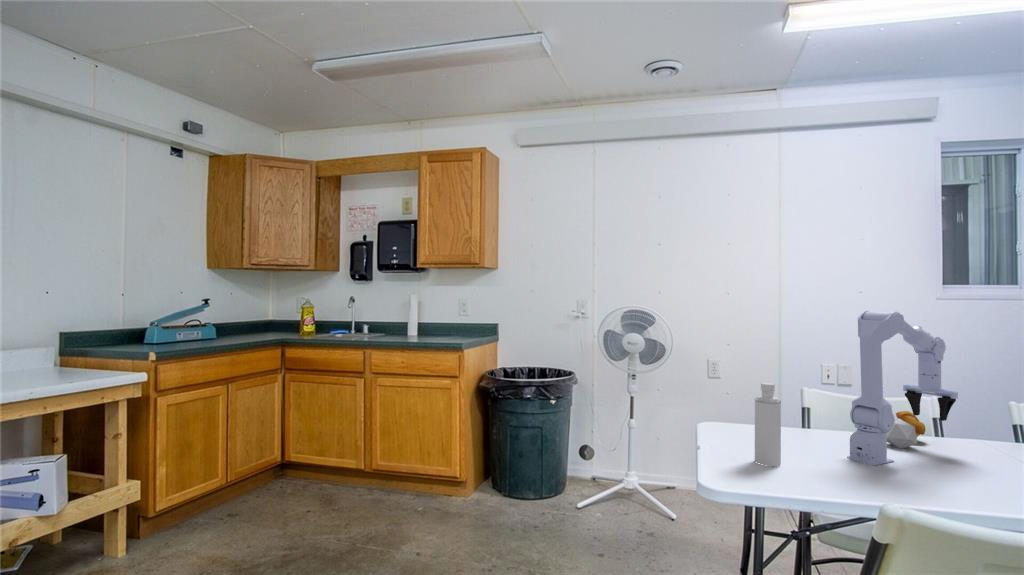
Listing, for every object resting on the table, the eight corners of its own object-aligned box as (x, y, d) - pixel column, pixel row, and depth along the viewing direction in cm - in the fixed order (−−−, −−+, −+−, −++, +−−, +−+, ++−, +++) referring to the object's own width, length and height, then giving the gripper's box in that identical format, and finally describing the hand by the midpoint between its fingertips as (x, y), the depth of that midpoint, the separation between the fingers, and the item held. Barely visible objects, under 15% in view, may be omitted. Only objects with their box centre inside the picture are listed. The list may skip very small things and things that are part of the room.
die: (920, 455, 167) (904, 445, 177) (925, 427, 167) (909, 418, 176) (889, 449, 169) (875, 439, 179) (895, 422, 168) (880, 413, 178)
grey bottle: (783, 470, 148) (783, 380, 149) (757, 469, 150) (758, 379, 150) (776, 463, 155) (777, 376, 155) (752, 461, 156) (752, 375, 157)
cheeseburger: (886, 427, 190) (902, 404, 187) (917, 448, 182) (935, 424, 179) (874, 428, 184) (891, 405, 181) (906, 450, 176) (924, 426, 173)
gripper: (963, 377, 164) (963, 421, 164) (912, 370, 178) (912, 411, 178) (950, 378, 162) (950, 423, 161) (899, 371, 175) (899, 413, 175)
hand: (929, 417), depth 169 cm, fingers open, 7 cm apart
